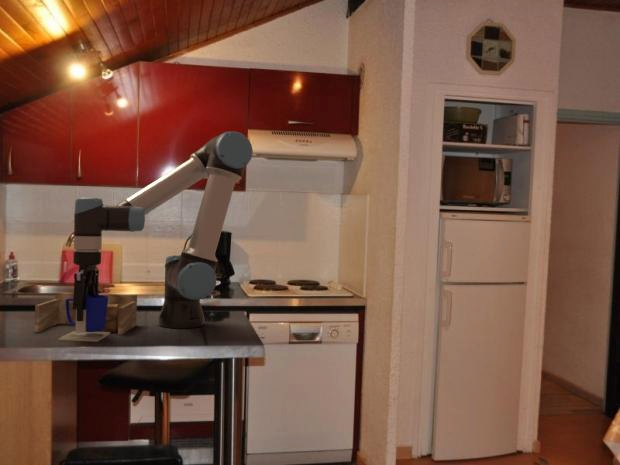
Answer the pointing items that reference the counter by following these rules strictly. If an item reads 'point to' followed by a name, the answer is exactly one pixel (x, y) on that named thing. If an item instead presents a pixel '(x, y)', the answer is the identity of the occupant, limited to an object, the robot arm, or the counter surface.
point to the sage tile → (84, 336)
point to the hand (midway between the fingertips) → (85, 329)
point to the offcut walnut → (111, 326)
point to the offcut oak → (112, 311)
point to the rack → (56, 311)
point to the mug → (92, 312)
